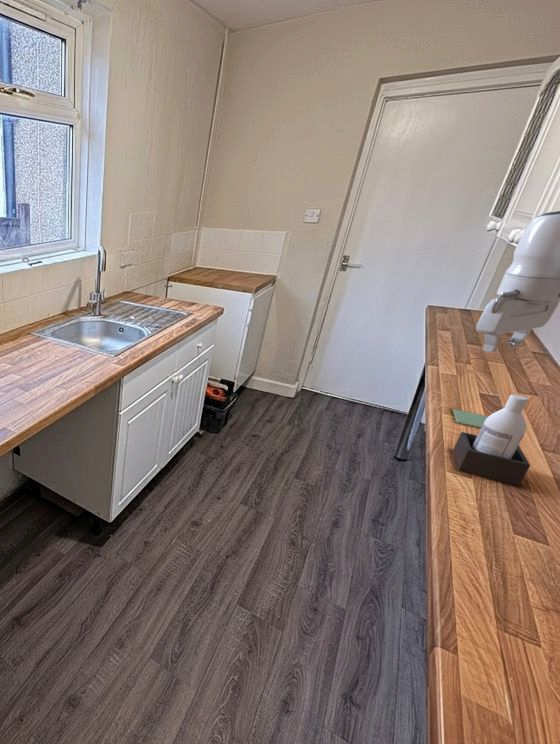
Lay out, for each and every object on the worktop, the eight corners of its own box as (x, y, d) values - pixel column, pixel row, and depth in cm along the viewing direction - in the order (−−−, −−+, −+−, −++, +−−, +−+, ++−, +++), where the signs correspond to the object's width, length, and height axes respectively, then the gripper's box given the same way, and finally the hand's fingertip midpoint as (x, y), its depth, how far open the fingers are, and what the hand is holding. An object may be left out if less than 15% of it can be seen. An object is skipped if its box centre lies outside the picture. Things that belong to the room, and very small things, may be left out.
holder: (507, 464, 105) (518, 444, 103) (518, 486, 97) (530, 465, 95) (452, 450, 111) (461, 431, 109) (458, 470, 103) (468, 450, 101)
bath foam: (484, 459, 107) (520, 390, 99) (511, 476, 101) (551, 404, 93) (457, 458, 107) (490, 390, 100) (481, 475, 101) (519, 403, 93)
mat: (495, 419, 127) (496, 418, 126) (503, 433, 119) (504, 432, 119) (452, 410, 132) (453, 408, 132) (457, 422, 125) (457, 421, 124)
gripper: (520, 295, 84) (491, 359, 89) (573, 288, 90) (544, 347, 96) (481, 289, 89) (456, 349, 95) (534, 283, 95) (508, 339, 101)
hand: (500, 348), depth 95 cm, fingers open, 8 cm apart
